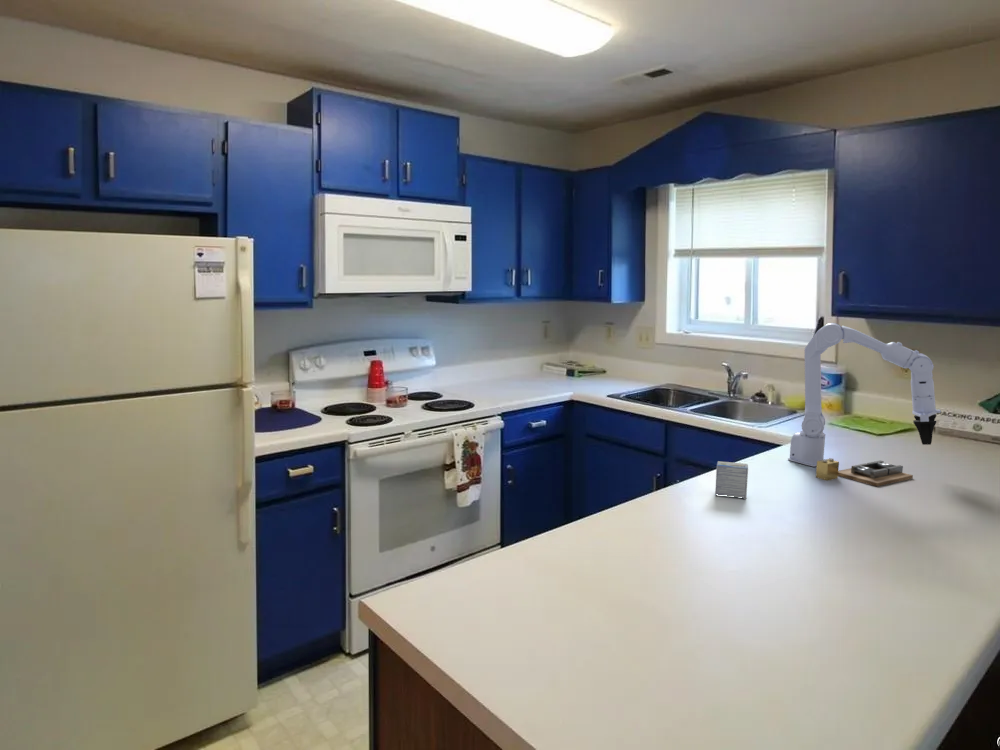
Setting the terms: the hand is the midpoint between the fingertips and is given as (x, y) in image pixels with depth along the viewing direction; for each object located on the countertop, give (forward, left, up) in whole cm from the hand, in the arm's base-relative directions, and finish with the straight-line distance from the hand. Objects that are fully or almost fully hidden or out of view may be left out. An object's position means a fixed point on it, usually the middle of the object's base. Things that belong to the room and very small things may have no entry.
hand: (926, 441), depth 200 cm
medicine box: (-13, -65, -11) cm, 67 cm away
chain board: (-7, -13, -11) cm, 18 cm away
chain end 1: (-7, -16, -10) cm, 19 cm away
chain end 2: (-7, -8, -10) cm, 14 cm away
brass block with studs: (-12, -27, -11) cm, 31 cm away
